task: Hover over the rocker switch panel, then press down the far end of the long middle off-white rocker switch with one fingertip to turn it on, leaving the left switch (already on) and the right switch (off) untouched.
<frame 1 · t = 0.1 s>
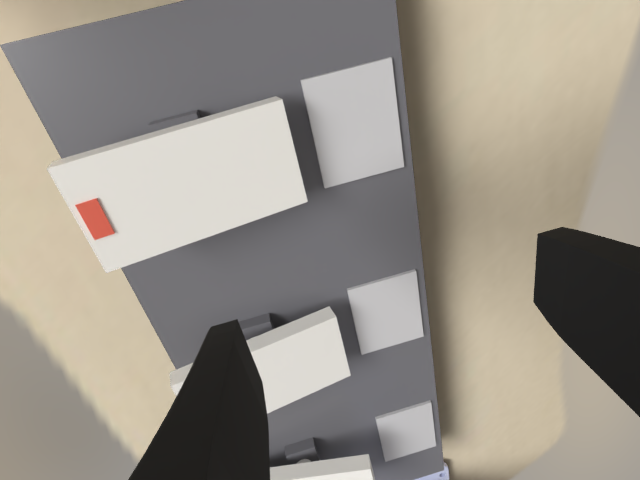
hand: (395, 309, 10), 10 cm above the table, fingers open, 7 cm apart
rocker switch panel: (297, 304, 22), on the table
rocker middle: (265, 371, 18), point 4 cm above the table, hinge at 10.0°
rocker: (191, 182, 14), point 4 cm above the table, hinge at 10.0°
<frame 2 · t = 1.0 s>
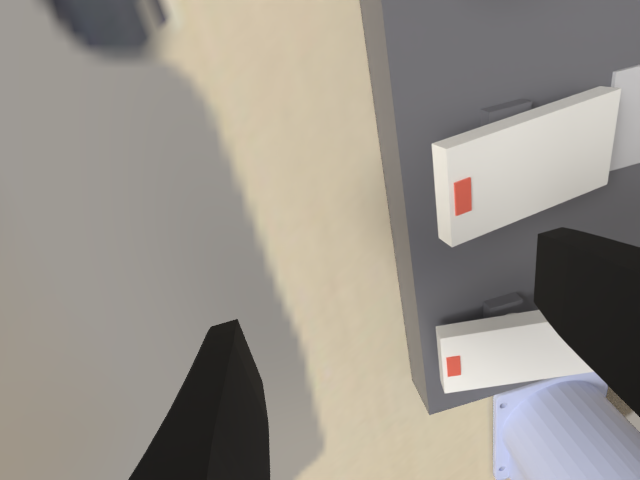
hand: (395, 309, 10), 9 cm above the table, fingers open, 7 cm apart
rocker switch panel: (511, 125, 19), on the table
rocker middle: (523, 164, 15), point 4 cm above the table, hinge at 10.0°
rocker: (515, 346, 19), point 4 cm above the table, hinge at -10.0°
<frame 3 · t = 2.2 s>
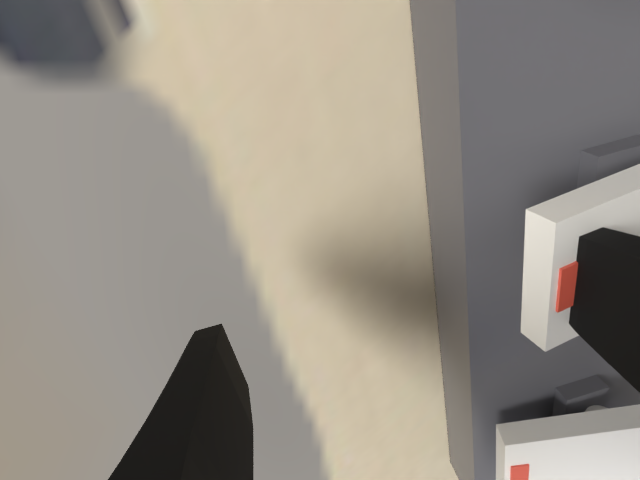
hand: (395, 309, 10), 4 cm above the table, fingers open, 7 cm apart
rocker switch panel: (598, 162, 14), on the table
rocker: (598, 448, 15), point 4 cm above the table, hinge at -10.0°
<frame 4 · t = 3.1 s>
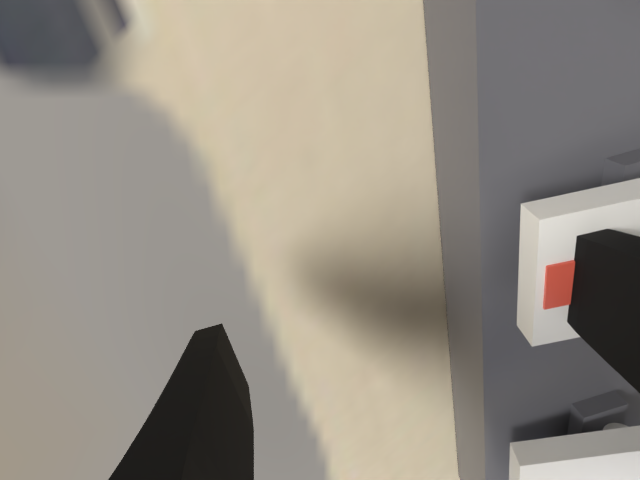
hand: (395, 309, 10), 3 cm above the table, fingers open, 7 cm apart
rocker switch panel: (618, 168, 13), on the table
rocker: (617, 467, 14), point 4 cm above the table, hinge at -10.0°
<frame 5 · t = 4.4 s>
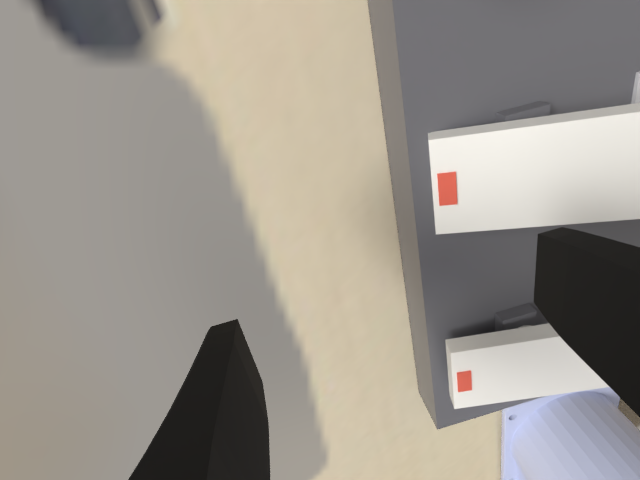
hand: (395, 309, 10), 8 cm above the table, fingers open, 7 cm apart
rocker switch panel: (525, 128, 18), on the table
rocker middle: (539, 171, 14), point 4 cm above the table, hinge at -21.7°, touching rocker switch panel
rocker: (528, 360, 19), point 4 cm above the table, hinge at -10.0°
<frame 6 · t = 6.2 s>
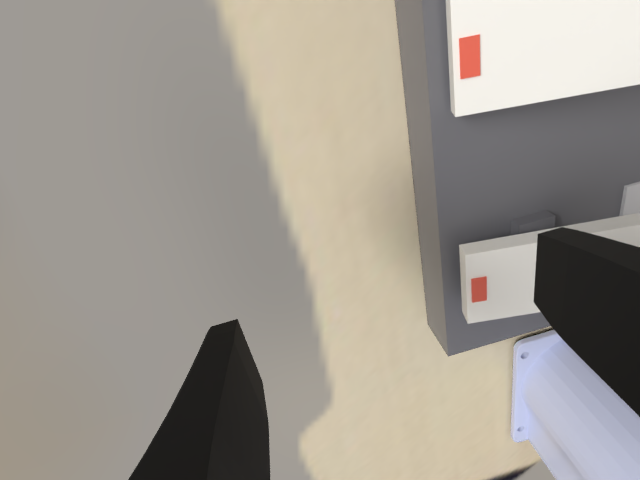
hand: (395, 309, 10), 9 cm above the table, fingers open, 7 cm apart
rocker switch panel: (544, 18, 17), on the table
rocker middle: (565, 34, 13), point 4 cm above the table, hinge at -15.3°
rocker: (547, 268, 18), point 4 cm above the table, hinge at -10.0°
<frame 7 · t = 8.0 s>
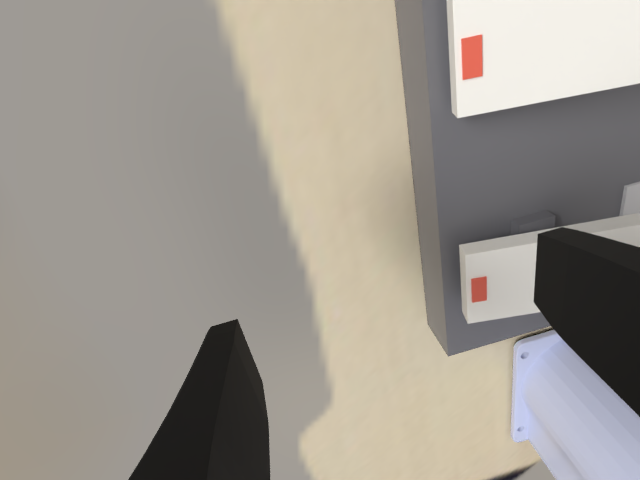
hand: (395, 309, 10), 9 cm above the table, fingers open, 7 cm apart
rocker switch panel: (544, 18, 17), on the table
rocker middle: (565, 34, 13), point 4 cm above the table, hinge at -12.6°
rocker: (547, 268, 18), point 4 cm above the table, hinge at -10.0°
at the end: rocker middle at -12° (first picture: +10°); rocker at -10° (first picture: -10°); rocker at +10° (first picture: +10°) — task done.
